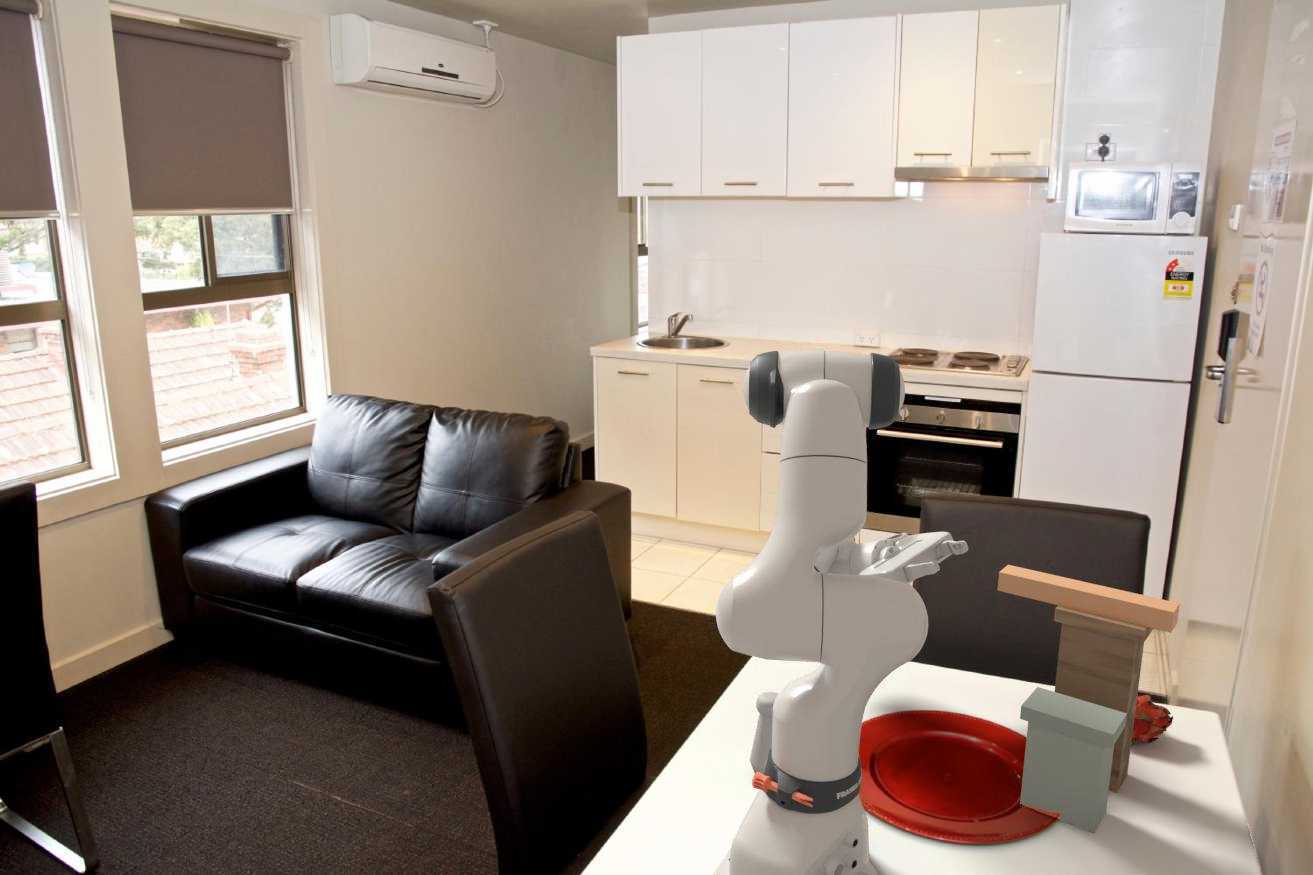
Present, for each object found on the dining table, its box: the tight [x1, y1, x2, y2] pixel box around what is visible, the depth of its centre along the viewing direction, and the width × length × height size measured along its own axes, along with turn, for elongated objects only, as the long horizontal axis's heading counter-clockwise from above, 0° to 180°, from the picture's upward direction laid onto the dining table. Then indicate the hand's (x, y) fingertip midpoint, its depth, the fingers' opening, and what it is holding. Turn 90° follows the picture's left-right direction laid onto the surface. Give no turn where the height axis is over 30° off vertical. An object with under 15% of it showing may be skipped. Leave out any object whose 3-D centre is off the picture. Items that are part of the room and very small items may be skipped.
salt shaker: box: [749, 691, 779, 775], centre depth 142 cm, size 6×6×13 cm
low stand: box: [1019, 686, 1127, 834], centre depth 133 cm, size 7×12×16 cm, turn 51°
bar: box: [997, 564, 1181, 633], centre depth 140 cm, size 4×24×3 cm, turn 51°
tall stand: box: [1053, 605, 1155, 793], centre depth 141 cm, size 7×12×26 cm, turn 51°
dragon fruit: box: [1131, 694, 1174, 745], centre depth 153 cm, size 8×8×12 cm
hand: (951, 556), depth 151 cm, fingers open, 8 cm apart
